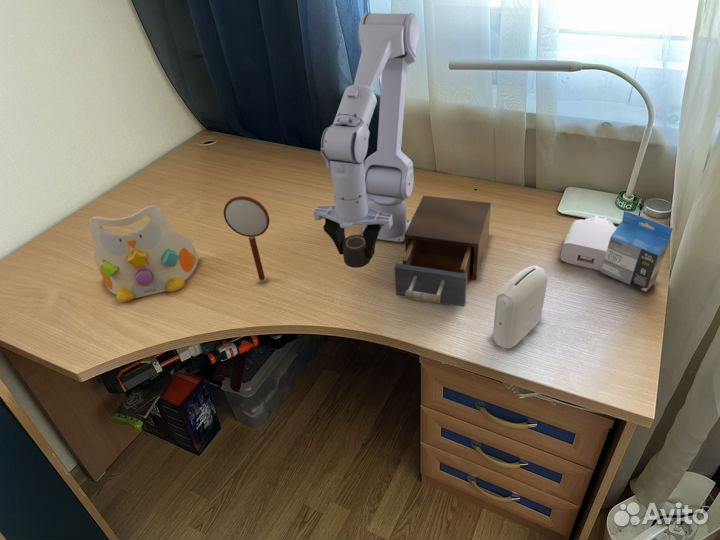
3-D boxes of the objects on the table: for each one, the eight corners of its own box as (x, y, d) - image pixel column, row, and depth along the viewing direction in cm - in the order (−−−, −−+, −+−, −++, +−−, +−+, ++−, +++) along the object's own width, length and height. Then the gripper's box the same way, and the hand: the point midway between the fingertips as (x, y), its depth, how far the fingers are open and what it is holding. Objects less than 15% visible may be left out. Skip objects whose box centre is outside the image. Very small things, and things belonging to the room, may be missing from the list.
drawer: (458, 328, 93) (459, 298, 89) (387, 315, 97) (385, 286, 93) (477, 262, 107) (479, 234, 103) (414, 253, 111) (413, 225, 107)
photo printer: (509, 353, 89) (517, 298, 81) (488, 340, 92) (493, 285, 84) (544, 320, 94) (554, 265, 86) (522, 309, 97) (530, 255, 89)
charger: (622, 231, 112) (609, 272, 103) (576, 221, 116) (559, 261, 107) (627, 212, 109) (614, 253, 100) (580, 203, 113) (563, 241, 104)
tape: (340, 265, 102) (337, 248, 100) (349, 249, 106) (347, 232, 103) (365, 269, 101) (364, 252, 98) (374, 253, 104) (373, 236, 102)
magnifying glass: (284, 280, 109) (265, 194, 96) (282, 285, 108) (262, 199, 95) (244, 278, 110) (220, 194, 98) (241, 283, 109) (217, 199, 97)
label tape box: (599, 272, 103) (613, 219, 95) (610, 262, 105) (624, 209, 97) (645, 293, 97) (664, 238, 90) (656, 282, 99) (675, 227, 92)
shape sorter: (99, 310, 106) (61, 237, 95) (104, 278, 114) (69, 207, 103) (200, 287, 109) (174, 213, 98) (198, 257, 117) (174, 186, 106)
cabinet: (476, 280, 104) (478, 244, 99) (405, 269, 108) (404, 234, 103) (488, 237, 115) (491, 202, 109) (423, 229, 119) (423, 195, 113)
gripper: (302, 199, 93) (313, 260, 102) (382, 208, 89) (386, 272, 97) (318, 179, 98) (327, 239, 107) (394, 187, 94) (397, 249, 102)
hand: (356, 253), depth 102 cm, fingers closed on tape, 5 cm apart
